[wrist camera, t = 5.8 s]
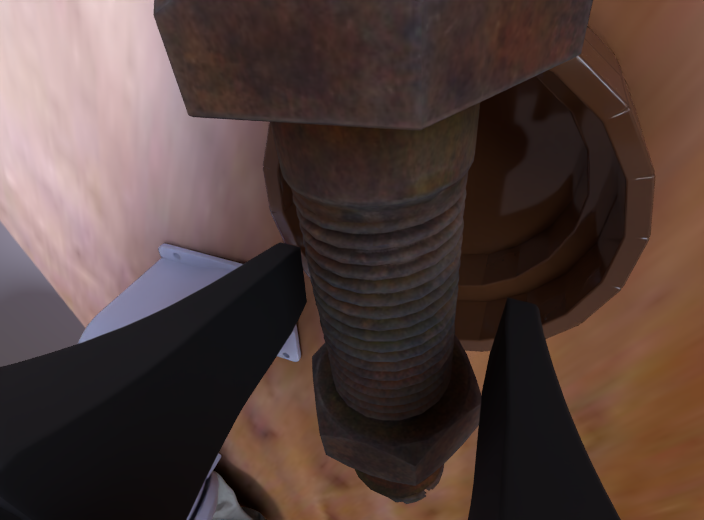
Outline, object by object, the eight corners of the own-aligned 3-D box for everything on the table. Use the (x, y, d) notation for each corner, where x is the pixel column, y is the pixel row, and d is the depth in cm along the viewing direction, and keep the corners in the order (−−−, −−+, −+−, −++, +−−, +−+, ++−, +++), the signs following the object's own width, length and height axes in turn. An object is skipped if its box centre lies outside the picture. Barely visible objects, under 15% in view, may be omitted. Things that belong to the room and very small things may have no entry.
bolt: (406, 369, 18) (392, -86, 8) (509, 459, 15) (677, -111, 5) (291, 460, 16) (80, -36, 6) (384, 593, 12) (257, -24, 3)
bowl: (330, 240, 22) (284, 305, 19) (314, -26, 15) (233, -1, 11) (569, 295, 19) (569, 387, 15) (705, -12, 11) (766, 28, 8)
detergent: (294, 531, 58) (227, 432, 43) (264, 590, 53) (176, 502, 38) (222, 494, 64) (142, 396, 49) (190, 544, 59) (89, 452, 44)
